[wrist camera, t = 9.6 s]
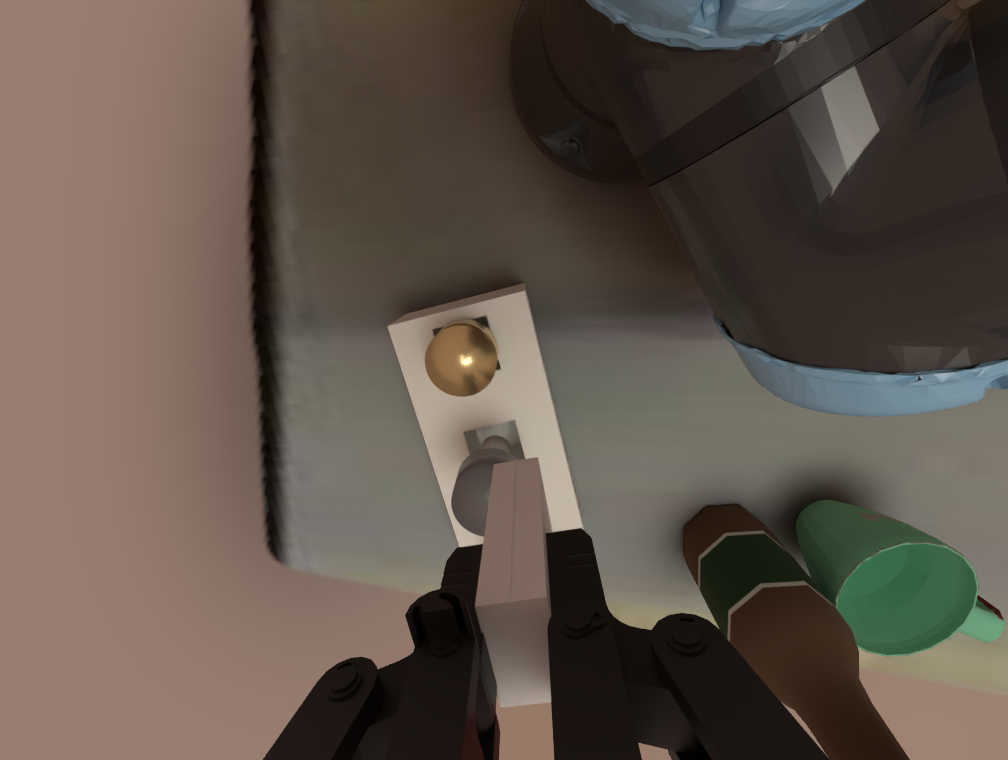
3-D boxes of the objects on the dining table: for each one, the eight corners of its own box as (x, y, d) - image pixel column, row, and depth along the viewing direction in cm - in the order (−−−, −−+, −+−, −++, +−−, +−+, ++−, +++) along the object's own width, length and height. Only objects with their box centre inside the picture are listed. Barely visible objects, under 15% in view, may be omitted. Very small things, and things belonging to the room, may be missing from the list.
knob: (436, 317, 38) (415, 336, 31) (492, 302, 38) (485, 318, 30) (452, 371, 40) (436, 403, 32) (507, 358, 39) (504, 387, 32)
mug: (747, 548, 45) (808, 631, 36) (803, 458, 43) (885, 522, 33) (885, 599, 46) (981, 693, 37) (948, 515, 44) (1069, 592, 34)
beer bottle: (665, 521, 45) (817, 820, 22) (746, 486, 44) (999, 765, 21) (697, 585, 47) (869, 924, 24) (776, 553, 45) (1039, 878, 22)
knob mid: (458, 428, 37) (441, 478, 29) (517, 414, 36) (516, 461, 29) (474, 481, 38) (463, 543, 30) (532, 469, 37) (535, 528, 30)
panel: (406, 313, 40) (387, 326, 35) (524, 282, 39) (524, 290, 34) (477, 539, 46) (471, 582, 40) (581, 517, 45) (590, 558, 39)
